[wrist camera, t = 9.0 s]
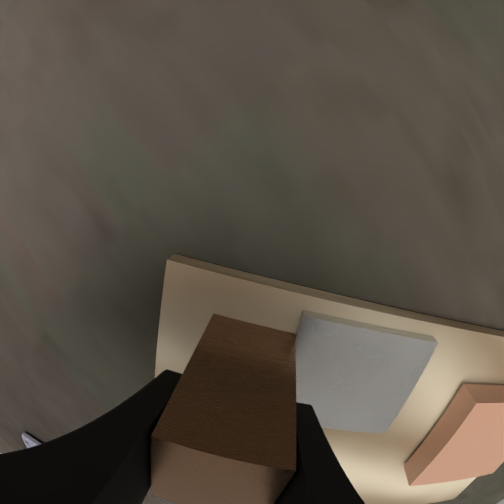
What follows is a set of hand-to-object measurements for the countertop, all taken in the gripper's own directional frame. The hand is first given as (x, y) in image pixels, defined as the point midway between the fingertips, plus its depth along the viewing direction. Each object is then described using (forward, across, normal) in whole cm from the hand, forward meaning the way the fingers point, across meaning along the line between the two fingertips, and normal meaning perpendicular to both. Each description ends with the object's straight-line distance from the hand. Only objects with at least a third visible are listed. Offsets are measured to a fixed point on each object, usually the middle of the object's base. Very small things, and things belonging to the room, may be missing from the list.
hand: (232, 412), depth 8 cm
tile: (+2, -10, +2) cm, 10 cm away
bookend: (+3, -3, 0) cm, 4 cm away
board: (+4, -8, +4) cm, 9 cm away
